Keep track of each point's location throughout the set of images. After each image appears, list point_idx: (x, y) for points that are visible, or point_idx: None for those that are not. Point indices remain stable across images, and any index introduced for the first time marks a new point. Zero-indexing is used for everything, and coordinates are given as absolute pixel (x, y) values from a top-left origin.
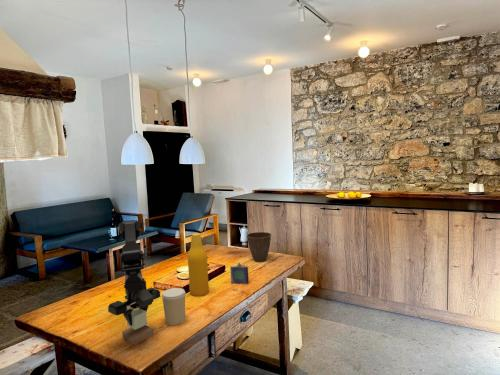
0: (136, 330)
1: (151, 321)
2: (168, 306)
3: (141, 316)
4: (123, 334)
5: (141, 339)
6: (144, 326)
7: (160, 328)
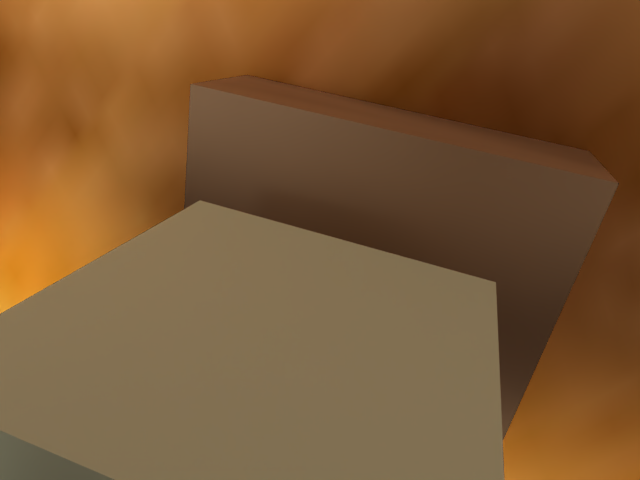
0: None
1: None
2: None
3: (188, 379)
4: None
5: (457, 127)
6: None
7: (94, 111)
